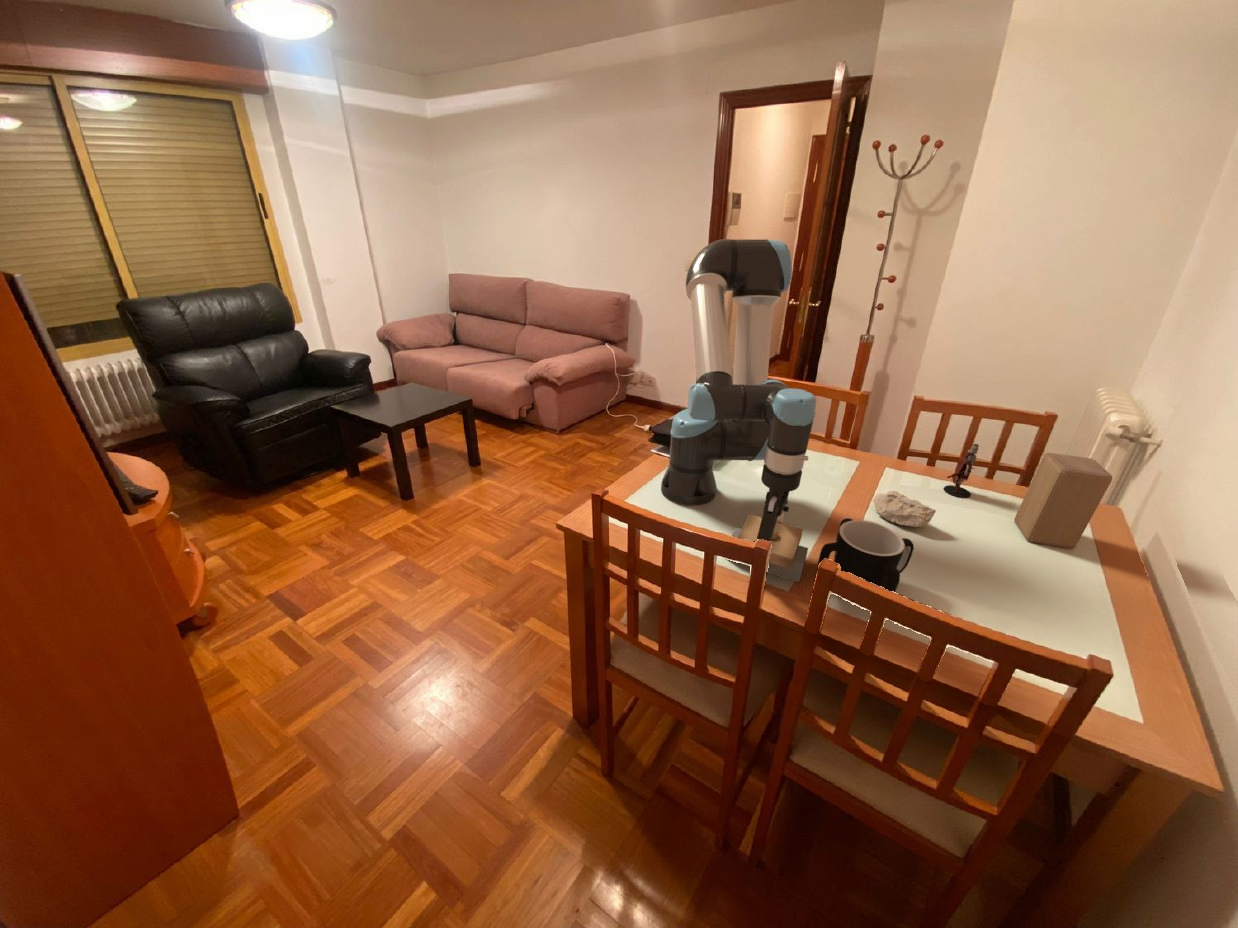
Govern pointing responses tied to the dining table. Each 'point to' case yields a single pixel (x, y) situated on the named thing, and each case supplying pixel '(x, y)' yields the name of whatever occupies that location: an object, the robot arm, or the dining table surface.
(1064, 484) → the wooden block
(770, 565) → the riser
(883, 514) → the stone
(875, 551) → the mug
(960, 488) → the figurine
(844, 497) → the dining table surface
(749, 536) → the lid
